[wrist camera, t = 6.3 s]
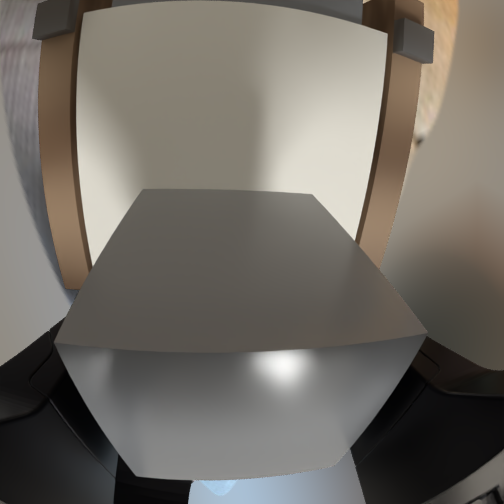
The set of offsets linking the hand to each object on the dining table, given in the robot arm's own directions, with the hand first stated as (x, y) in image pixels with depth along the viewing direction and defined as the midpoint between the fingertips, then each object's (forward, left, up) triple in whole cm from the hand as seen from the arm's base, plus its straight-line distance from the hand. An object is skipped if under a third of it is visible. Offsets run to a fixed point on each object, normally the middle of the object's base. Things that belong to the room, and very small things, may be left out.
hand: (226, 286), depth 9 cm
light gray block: (0, 0, -1) cm, 1 cm away
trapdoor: (+3, +3, -7) cm, 8 cm away
